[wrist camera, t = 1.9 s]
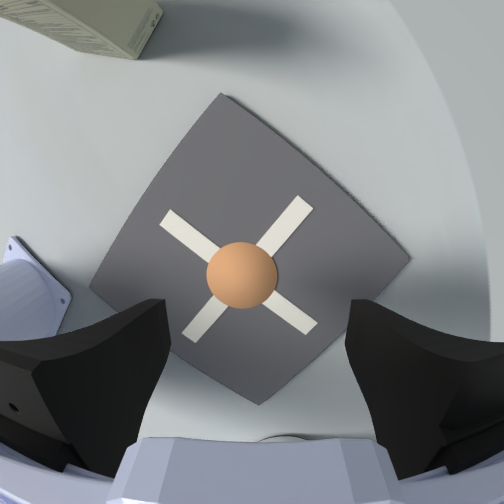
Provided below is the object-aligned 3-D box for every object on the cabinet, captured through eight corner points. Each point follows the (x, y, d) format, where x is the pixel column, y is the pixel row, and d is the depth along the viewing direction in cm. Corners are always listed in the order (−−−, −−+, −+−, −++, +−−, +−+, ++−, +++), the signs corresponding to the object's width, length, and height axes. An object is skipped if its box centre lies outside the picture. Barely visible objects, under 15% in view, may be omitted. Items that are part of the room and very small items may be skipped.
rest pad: (258, 400, 22) (258, 406, 21) (92, 284, 20) (87, 288, 19) (406, 255, 18) (410, 259, 18) (221, 94, 16) (220, 92, 15)
